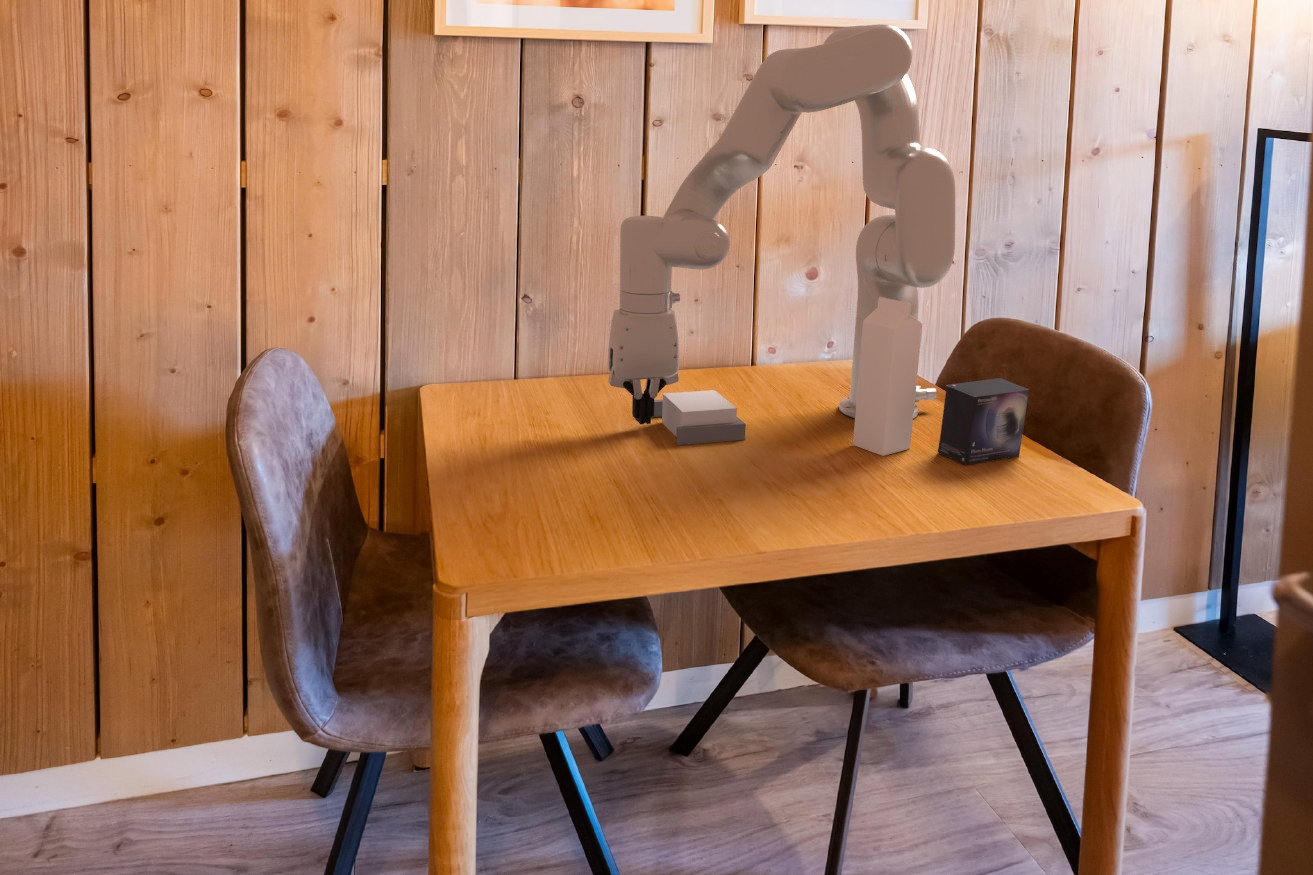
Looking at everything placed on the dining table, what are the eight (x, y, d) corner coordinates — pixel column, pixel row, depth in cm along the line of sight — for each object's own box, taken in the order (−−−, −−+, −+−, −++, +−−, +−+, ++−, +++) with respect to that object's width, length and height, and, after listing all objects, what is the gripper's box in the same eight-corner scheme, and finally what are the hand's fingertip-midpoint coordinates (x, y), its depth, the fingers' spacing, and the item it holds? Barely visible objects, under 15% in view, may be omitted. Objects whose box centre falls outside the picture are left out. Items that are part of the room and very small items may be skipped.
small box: (967, 467, 151) (975, 396, 147) (935, 453, 156) (943, 384, 153) (1022, 457, 155) (1031, 387, 152) (989, 443, 161) (998, 376, 158)
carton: (713, 420, 170) (714, 390, 169) (735, 440, 161) (736, 408, 160) (662, 424, 168) (662, 393, 166) (681, 444, 159) (682, 412, 157)
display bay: (711, 410, 174) (711, 396, 173) (744, 439, 160) (745, 423, 160) (649, 415, 171) (649, 400, 170) (678, 445, 157) (678, 428, 157)
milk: (882, 456, 154) (896, 306, 147) (851, 445, 159) (863, 298, 152) (911, 448, 158) (925, 301, 151) (879, 437, 162) (892, 294, 155)
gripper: (685, 295, 162) (681, 411, 168) (589, 299, 158) (589, 417, 164) (701, 305, 156) (697, 425, 162) (602, 309, 151) (601, 432, 157)
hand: (642, 421), depth 163 cm, fingers closed
